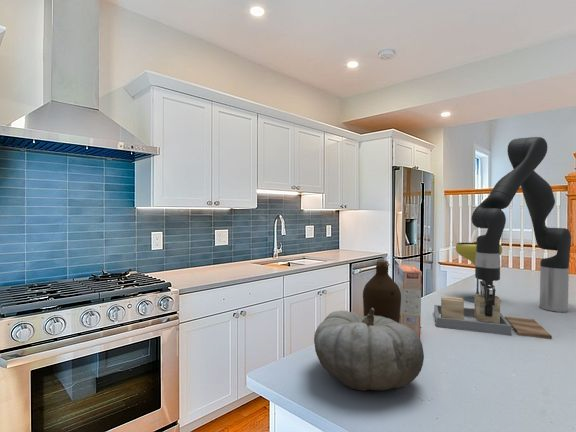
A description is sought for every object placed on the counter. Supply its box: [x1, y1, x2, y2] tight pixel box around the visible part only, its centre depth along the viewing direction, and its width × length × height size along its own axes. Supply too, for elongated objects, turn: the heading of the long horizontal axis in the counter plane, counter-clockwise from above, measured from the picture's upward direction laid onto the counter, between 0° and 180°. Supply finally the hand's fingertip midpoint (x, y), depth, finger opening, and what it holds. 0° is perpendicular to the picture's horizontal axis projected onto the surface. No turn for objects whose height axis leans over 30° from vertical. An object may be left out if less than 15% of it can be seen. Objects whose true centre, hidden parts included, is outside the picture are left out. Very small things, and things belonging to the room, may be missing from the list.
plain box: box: [440, 296, 465, 320], centre depth 124 cm, size 5×7×8 cm
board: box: [504, 315, 553, 340], centre depth 117 cm, size 18×9×1 cm, turn 159°
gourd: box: [313, 308, 425, 392], centre depth 81 cm, size 25×25×17 cm
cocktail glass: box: [455, 242, 503, 304], centre depth 154 cm, size 18×18×25 cm
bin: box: [433, 304, 513, 336], centre depth 123 cm, size 18×22×3 cm
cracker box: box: [397, 264, 423, 339], centre depth 114 cm, size 14×6×21 cm, turn 168°
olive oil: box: [362, 259, 401, 323], centre depth 99 cm, size 11×11×25 cm
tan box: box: [474, 293, 501, 324], centre depth 121 cm, size 5×7×8 cm
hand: (486, 313), depth 121 cm, fingers closed on tan box, 5 cm apart
